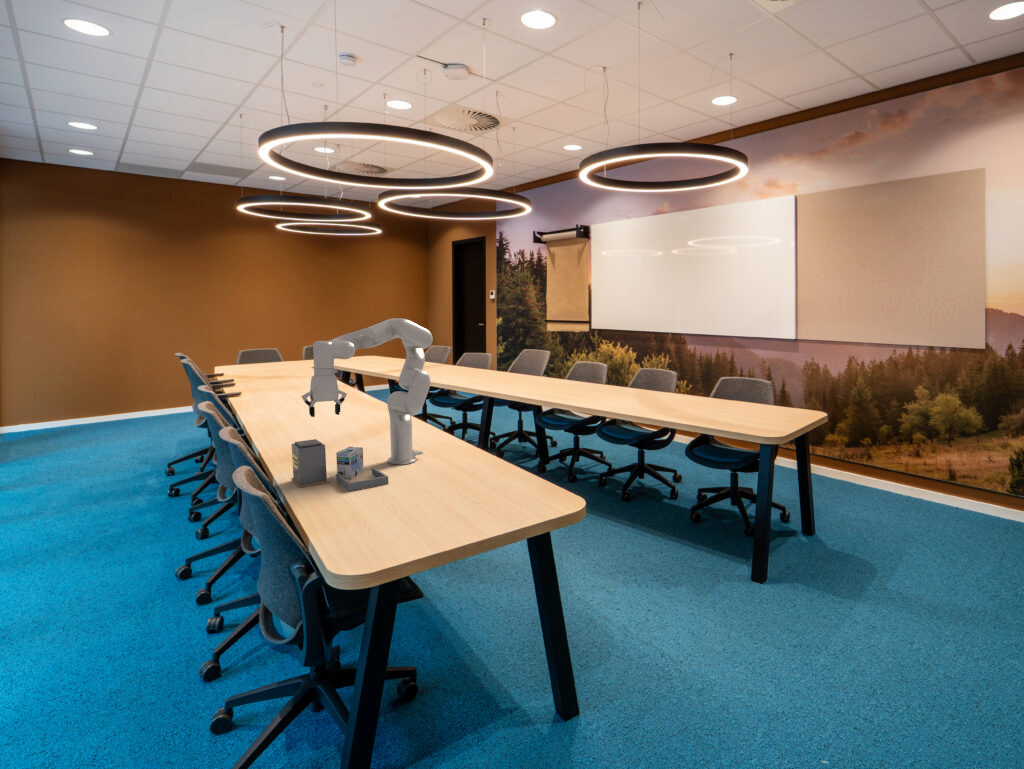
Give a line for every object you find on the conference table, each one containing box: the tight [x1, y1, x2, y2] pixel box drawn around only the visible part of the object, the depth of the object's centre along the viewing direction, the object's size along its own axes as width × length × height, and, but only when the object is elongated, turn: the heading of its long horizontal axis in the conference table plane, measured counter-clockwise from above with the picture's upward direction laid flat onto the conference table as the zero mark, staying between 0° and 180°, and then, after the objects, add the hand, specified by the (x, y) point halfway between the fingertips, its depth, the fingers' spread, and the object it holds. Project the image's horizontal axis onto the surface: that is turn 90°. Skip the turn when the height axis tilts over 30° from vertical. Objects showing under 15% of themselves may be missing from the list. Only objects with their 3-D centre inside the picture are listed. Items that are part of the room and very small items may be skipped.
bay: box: [335, 467, 389, 492], centre depth 211 cm, size 16×15×3 cm
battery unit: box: [290, 438, 330, 489], centre depth 212 cm, size 11×12×16 cm
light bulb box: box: [335, 446, 365, 480], centre depth 220 cm, size 11×7×11 cm, turn 168°
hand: (325, 415), depth 213 cm, fingers open, 9 cm apart
